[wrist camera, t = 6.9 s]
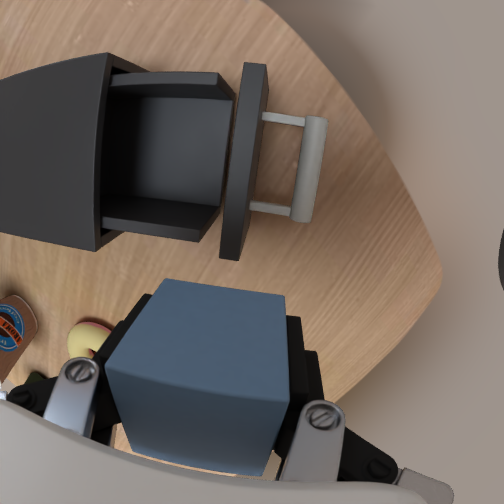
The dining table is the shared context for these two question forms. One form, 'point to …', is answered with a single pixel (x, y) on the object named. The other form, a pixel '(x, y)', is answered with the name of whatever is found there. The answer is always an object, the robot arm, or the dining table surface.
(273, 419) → the block
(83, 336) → the donut
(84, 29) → the dining table surface
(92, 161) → the dark grey drawer cabinet
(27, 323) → the coffee cup
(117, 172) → the dark grey drawer
